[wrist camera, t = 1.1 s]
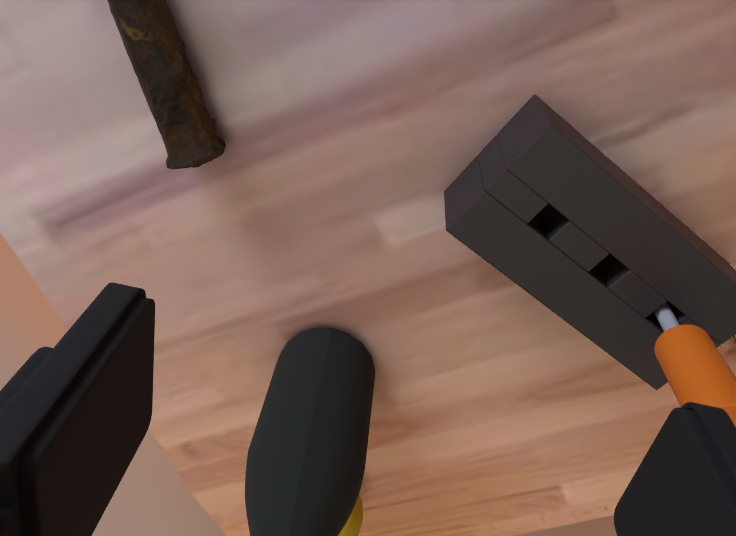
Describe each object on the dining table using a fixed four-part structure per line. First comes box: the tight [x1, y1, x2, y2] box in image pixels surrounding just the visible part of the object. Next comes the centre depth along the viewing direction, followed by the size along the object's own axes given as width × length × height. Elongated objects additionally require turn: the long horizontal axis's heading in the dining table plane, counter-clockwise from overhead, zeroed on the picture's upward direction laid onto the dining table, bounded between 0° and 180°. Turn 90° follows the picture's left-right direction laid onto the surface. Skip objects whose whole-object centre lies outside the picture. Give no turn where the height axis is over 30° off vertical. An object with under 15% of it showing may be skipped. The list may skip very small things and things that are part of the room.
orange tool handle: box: [654, 302, 736, 427], centre depth 40 cm, size 3×3×16 cm
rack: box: [444, 95, 736, 390], centre depth 43 cm, size 9×19×6 cm, turn 52°
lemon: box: [338, 495, 363, 536], centre depth 57 cm, size 6×6×8 cm
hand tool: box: [108, 0, 226, 169], centre depth 38 cm, size 19×4×5 cm, turn 11°
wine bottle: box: [245, 328, 375, 536], centre depth 40 cm, size 8×8×30 cm
